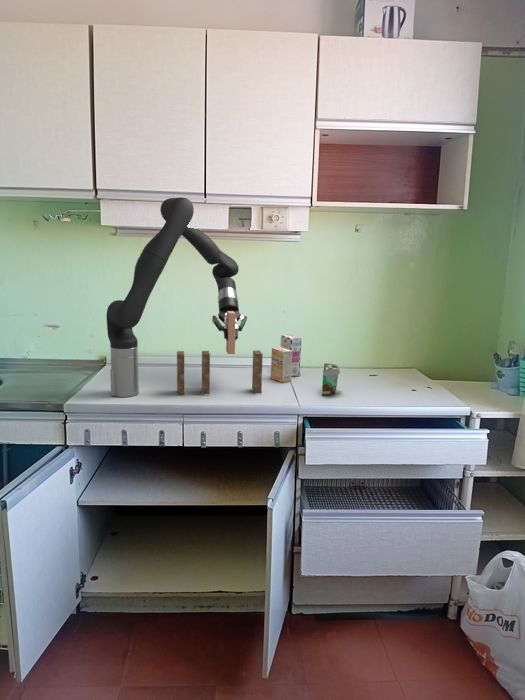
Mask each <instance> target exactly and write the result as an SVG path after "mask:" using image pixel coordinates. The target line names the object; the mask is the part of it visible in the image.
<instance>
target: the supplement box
mask: <svg viewBox="0 0 525 700" xmlns="http://www.w3.org/2000/svg"><path fill="white" fill-rule="evenodd" d="M292 352H293V351H292V350H288V349H285V348H282V347H281V346H277V347H271V361H270V362H271V363H270V379H271V380H274V381H277V382H279V383H282V384H286V383H292V377H291V373H292Z"/></svg>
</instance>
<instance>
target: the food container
mask: <svg viewBox="0 0 525 700" xmlns="http://www.w3.org/2000/svg"><path fill="white" fill-rule="evenodd" d="M340 374H341V370H340V366H338V365H337V364H334V363H326V362H324V364H323V369H322V385H321V388H322V389H321V396H322V397H325V396H334V395H336V393H337V387H338V386H337V385H338V377H339V375H340Z"/></svg>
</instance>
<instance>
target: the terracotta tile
mask: <svg viewBox="0 0 525 700" xmlns="http://www.w3.org/2000/svg"><path fill="white" fill-rule="evenodd" d="M235 327H236V313H235V312H234V311H227V329H228V340H226V339H225V341H226V343H225V353H227V355H235V354H236V340H235Z"/></svg>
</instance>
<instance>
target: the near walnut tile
mask: <svg viewBox="0 0 525 700" xmlns="http://www.w3.org/2000/svg"><path fill="white" fill-rule="evenodd" d="M176 394H177V395H184V396H185V351H184V350H178V351H176ZM177 395H176V396H177Z"/></svg>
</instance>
